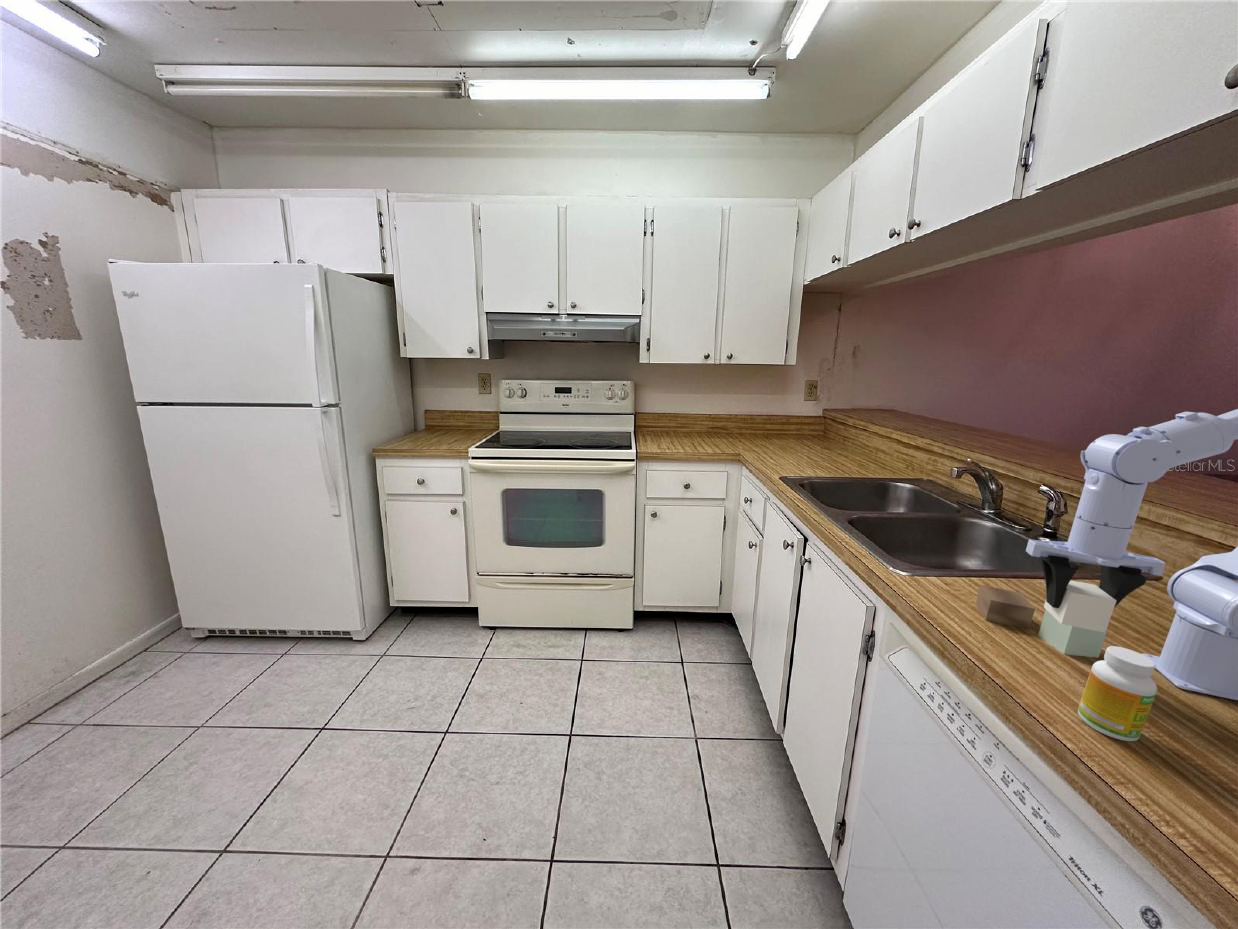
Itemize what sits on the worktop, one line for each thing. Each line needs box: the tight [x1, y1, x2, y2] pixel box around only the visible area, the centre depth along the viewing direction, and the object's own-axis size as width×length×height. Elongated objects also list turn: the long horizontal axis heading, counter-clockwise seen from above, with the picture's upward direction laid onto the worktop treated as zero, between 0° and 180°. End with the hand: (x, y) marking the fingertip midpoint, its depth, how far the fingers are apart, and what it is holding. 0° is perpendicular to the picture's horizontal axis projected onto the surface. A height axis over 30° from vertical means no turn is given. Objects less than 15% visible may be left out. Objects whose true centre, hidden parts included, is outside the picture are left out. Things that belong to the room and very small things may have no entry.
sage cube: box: [1037, 609, 1109, 658], centre depth 73 cm, size 5×5×5 cm
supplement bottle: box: [1077, 645, 1158, 742], centre depth 56 cm, size 5×5×10 cm
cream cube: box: [1043, 579, 1116, 633], centre depth 68 cm, size 5×5×5 cm
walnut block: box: [975, 584, 1036, 630], centre depth 81 cm, size 6×6×4 cm
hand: (1075, 609), depth 68 cm, fingers closed on cream cube, 5 cm apart
